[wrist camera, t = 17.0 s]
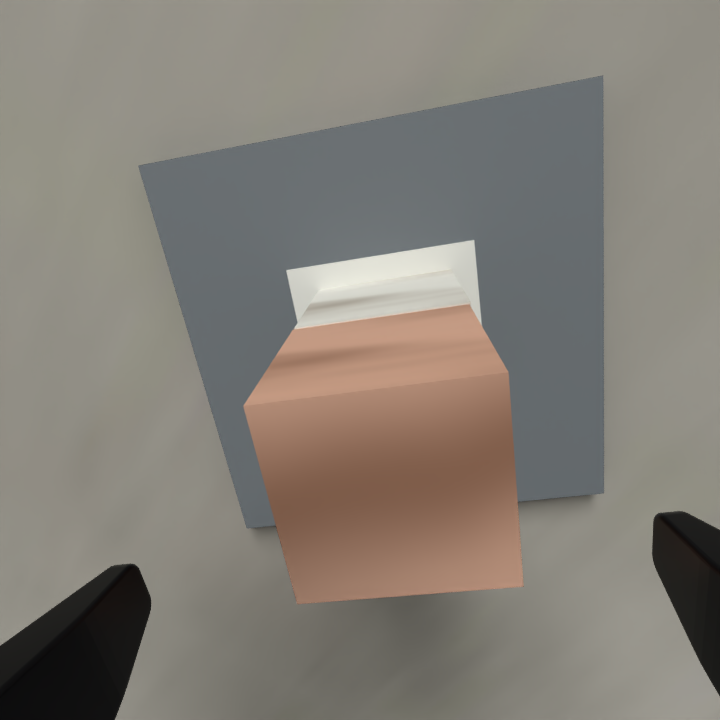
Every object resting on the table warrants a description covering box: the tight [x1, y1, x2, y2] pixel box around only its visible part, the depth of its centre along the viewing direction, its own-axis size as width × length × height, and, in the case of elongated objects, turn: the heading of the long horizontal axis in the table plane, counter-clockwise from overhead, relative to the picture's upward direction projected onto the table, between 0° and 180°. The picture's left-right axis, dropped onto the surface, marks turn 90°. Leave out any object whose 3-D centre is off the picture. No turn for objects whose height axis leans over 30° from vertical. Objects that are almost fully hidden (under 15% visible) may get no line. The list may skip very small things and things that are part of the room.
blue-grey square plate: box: [138, 76, 604, 528], centre depth 20 cm, size 16×16×1 cm
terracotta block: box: [243, 304, 524, 604], centre depth 12 cm, size 5×5×5 cm
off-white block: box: [294, 269, 471, 329], centre depth 17 cm, size 5×5×5 cm
